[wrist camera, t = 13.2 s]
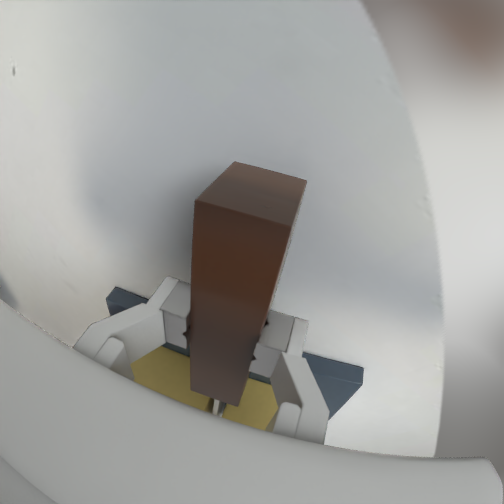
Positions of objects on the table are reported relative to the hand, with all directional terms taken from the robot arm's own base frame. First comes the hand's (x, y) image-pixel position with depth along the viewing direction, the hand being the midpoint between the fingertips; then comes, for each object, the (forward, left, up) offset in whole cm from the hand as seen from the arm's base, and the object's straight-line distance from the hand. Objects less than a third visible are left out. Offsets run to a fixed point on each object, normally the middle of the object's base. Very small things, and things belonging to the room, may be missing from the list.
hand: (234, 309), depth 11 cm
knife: (+5, 0, -2) cm, 5 cm away
